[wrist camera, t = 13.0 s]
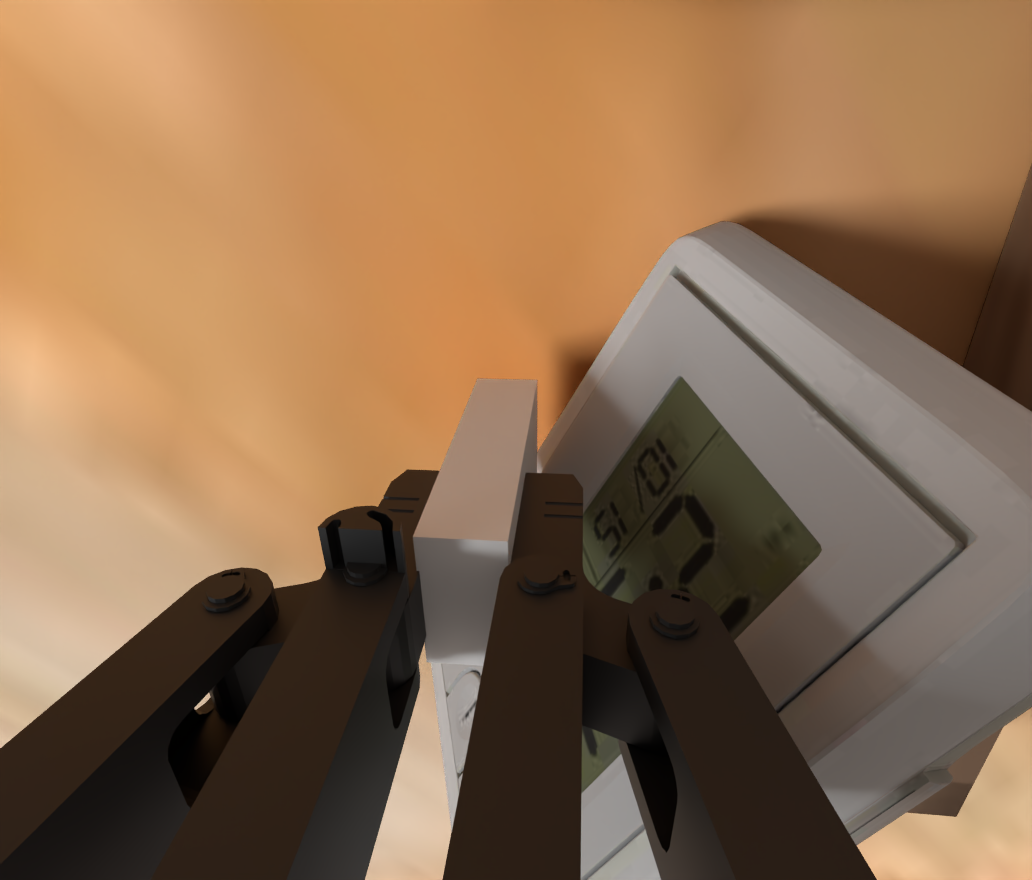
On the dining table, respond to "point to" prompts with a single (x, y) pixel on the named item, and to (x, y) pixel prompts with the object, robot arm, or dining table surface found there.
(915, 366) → the digital clock
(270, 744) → the robot arm
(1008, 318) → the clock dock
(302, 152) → the dining table surface
